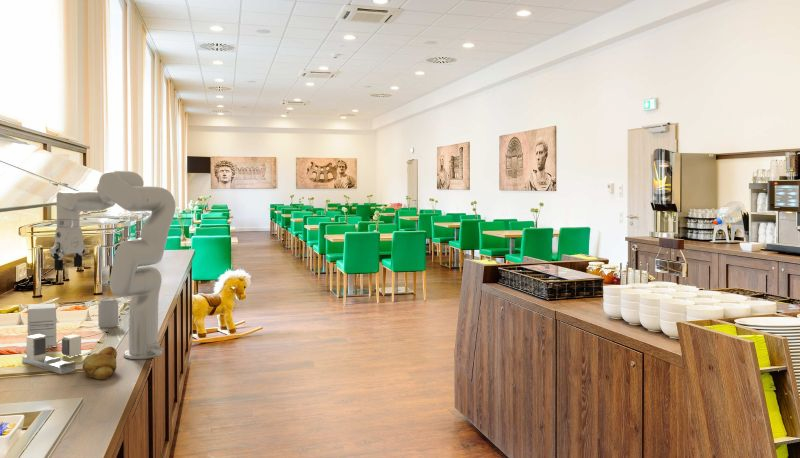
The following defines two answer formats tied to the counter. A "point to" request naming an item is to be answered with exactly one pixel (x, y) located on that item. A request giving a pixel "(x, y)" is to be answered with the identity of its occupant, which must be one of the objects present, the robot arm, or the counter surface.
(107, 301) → the grey upright block
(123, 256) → the robot arm
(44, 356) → the rail
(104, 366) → the bread roll
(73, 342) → the finger
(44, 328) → the supplement box
